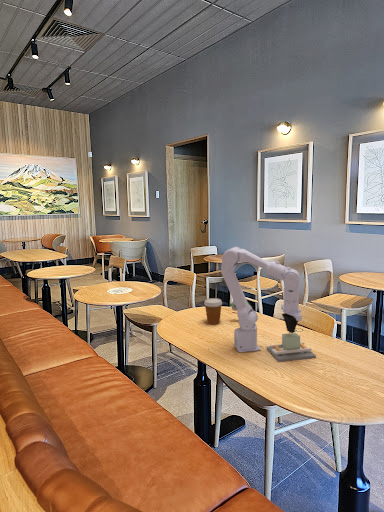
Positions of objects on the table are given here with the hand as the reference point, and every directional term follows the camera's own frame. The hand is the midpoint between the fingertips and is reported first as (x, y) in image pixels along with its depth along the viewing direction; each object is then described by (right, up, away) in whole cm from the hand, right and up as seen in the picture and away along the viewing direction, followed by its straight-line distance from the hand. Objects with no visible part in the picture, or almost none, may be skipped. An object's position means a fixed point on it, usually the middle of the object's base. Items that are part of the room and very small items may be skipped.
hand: (290, 331), depth 137 cm
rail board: (0, -9, +2) cm, 9 cm away
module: (0, -8, +1) cm, 8 cm away
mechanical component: (-15, -4, +40) cm, 43 cm away
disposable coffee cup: (-29, -4, +39) cm, 49 cm away
